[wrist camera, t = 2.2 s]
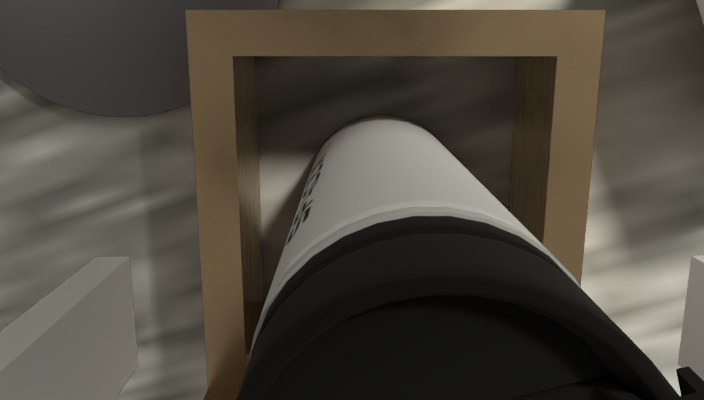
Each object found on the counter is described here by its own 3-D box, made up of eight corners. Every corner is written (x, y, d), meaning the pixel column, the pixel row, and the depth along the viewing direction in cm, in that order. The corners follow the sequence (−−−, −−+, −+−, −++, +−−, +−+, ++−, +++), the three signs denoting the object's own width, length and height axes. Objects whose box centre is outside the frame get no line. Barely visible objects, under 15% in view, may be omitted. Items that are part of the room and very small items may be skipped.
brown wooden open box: (217, 18, 25) (102, -13, 14) (556, 18, 25) (732, -12, 14) (233, 361, 29) (154, 569, 17) (531, 361, 29) (653, 569, 17)
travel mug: (475, 229, 27) (778, 656, 8) (334, 269, 28) (295, 768, 8) (439, 93, 26) (699, 208, 7) (291, 138, 26) (125, 371, 7)
